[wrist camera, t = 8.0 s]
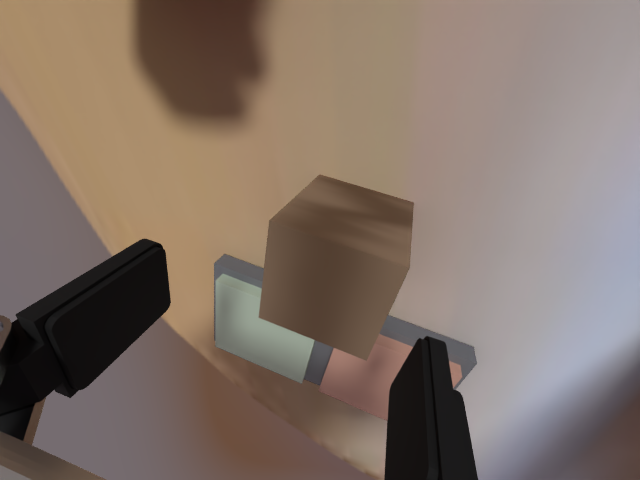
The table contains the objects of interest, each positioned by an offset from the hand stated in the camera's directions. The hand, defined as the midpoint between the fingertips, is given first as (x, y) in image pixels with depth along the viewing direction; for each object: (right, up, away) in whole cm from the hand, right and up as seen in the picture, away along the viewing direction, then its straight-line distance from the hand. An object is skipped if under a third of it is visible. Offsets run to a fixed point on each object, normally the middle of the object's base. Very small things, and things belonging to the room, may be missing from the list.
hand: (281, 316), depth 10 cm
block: (+3, +3, +6) cm, 7 cm away
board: (+2, -4, +10) cm, 12 cm away
